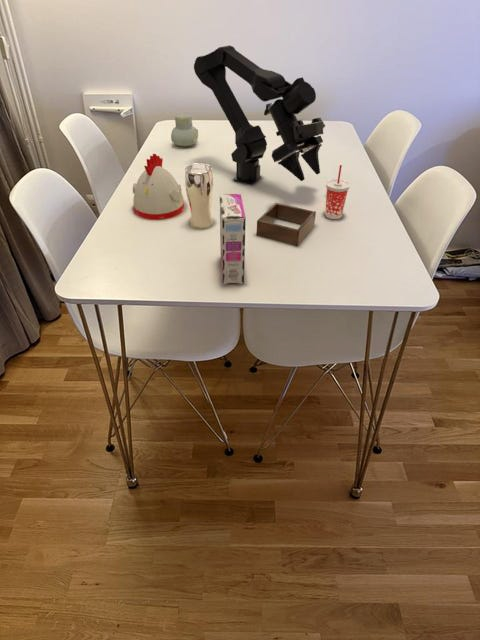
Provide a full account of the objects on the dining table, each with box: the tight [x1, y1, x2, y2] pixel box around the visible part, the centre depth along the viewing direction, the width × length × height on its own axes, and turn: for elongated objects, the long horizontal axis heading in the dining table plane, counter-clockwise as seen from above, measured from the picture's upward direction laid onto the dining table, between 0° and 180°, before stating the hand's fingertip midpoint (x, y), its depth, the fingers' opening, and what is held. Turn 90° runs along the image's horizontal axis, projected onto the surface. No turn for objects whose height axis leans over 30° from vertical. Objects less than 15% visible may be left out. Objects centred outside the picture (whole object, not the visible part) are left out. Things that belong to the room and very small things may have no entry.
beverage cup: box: [324, 164, 351, 220], centre depth 121 cm, size 6×6×14 cm
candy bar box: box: [219, 193, 247, 286], centre depth 100 cm, size 11×5×16 cm, turn 5°
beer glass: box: [184, 162, 214, 230], centre depth 118 cm, size 7×7×15 cm
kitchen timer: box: [132, 153, 185, 221], centre depth 124 cm, size 14×14×15 cm
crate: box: [256, 202, 317, 247], centre depth 118 cm, size 11×11×4 cm
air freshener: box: [170, 112, 199, 147], centre depth 164 cm, size 11×8×10 cm
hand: (310, 177), depth 125 cm, fingers open, 9 cm apart
